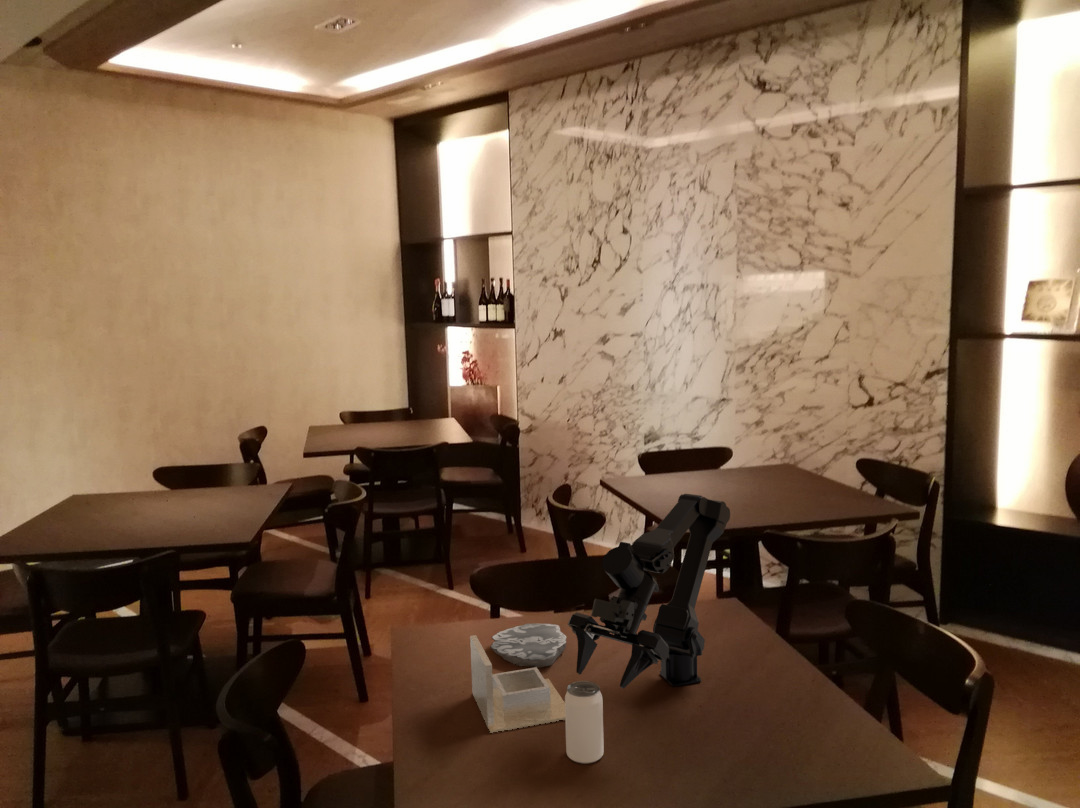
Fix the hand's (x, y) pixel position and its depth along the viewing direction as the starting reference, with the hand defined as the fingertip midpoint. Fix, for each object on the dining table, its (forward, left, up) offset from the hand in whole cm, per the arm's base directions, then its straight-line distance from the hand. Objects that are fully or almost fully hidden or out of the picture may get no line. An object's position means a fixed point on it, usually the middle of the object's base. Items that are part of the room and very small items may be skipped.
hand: (599, 680), depth 140 cm
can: (+4, +3, -12) cm, 13 cm away
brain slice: (+2, -40, -12) cm, 42 cm away
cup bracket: (+10, -17, -11) cm, 23 cm away
